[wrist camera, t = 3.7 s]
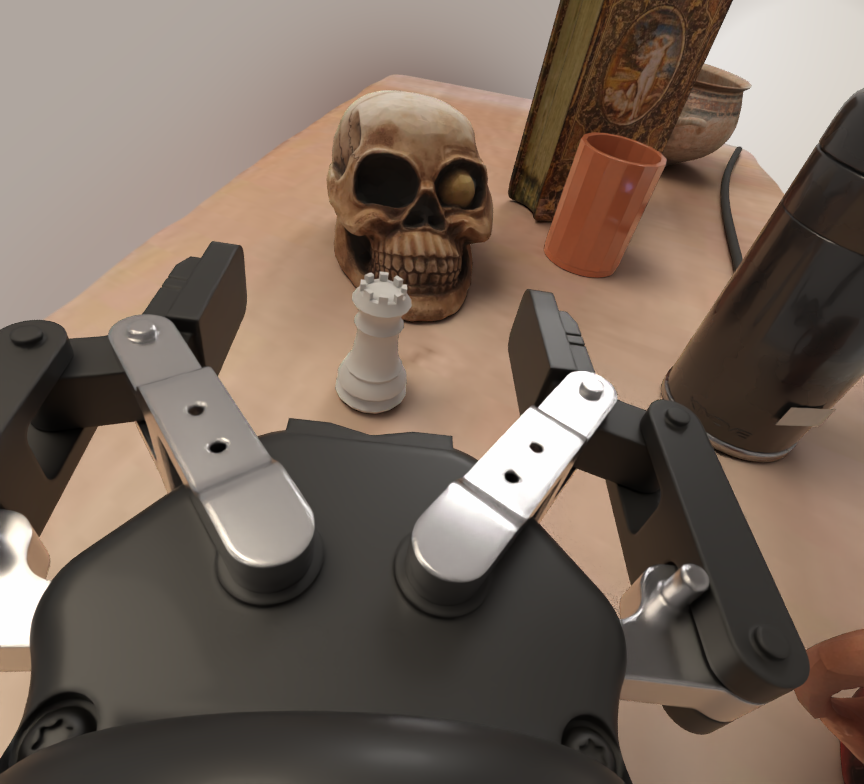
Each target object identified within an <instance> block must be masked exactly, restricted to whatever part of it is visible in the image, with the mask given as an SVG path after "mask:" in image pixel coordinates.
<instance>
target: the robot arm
mask: <svg viewBox="0 0 864 784" xmlns="http://www.w3.org/2000/svg"><path fill="white" fill-rule="evenodd" d="M741 150H742V148H741V147H737V148H736V149H735V151H734V153H733V155H732V156H731V158H730V160H729V162H728V164H727V167H726V169H725V172H724V175H723V178H722V184H721V207H722V214H723V220H724V225H725V230H726V234H727V239H728V244H729V248H730V252H731V257H732V261H733V266H734V271H735V272H734V274H733V276H732V277H731V279H730V280H729V282H728V283H727V285H726V286H725V288H724V289H723V291H722V292H721V294H720V296H719V297H718V299H717V300H716V302H715V303H714V305H713V306H712V308H711V309H710V311H709V312H708V314H707V316H706V317H705V319H704V320H703V322H702V323H701V325H700V326H699V328H698V329H697V331H696V333H695V334H694V336H693V337H692V338H691V340H690V341H689V343H688V345H687V346H686V348H685V349H684V351H683V352H682V354H681V355H680V357H679V358H678V360H677V362H676V363H675V365H674V366H673V367H672V368H671V369H670V370H669V371H668V373H667V374H666V376H665V378H664V379H663V382H662V386H661V391H662V396H663V399H664V400H656V401H654V402H653V403H651V405H650V406H649V408H648V409H647V411H646V410H643V409H641V408H638V407H635V406H632V405H629V404H627V403H624V402H622V401H620V400H618V399H617V398H618V397H617V392H616V390H615V388H614V387H613V386H612V384H611V383H609V382H608V381H607V380H606V379H604V378H603V377H601V376H599V375H597V374H595V371H594V369H593V366H592V363H591V360H590V357H589V355H588V352H587V349H586V347H585V346H584V345H585V344H584V341H583V338H582V337H581V333H580V330H579V327H578V324H577V323H576V321H575V320H574V319H573V318H572V317H571V316H570V315H569V314H568V313H567V312H564V311H559V310H558V307H557V304H556V301H555V298H554V295H553V293H551V292H544V291H538V290H531V289H527V290H526V291H525V293H524V295H523V297H522V300H521V303H520V306H519V309H518V312H517V315H516V318H515V321H514V323H513V326H512V329H511V332H510V337H509V343H508V352H509V358H510V363H511V369H512V374H513V379H514V385H515V390H516V396H517V401H518V406H519V412H520V418H519V419H518V420H517V421H516V422H515V423H514V424H513V425H512V426H511V427H510V428H509V429H508V430H507V432H506V433H505V434H504V435H503V436H502V437H501V438H500V439H499V440H498V441H497V442H496V443H495V444H494V445H493V446H492V447H491V448H490V450H489V451H488V452H487V453H486V454H485V455H484V456H483V457H482V458H481V459H480V460H479V461H478V460H476V459H475V458H473V457H472V456H470V455H468V454H466V453H464V452H462V451H459V450H457V449H454V448H453V441H452V436H446V435H437V434H428V433H419V432H406V433H395V434H384V435H368V434H365V433H362V432H358V431H355V430H352V429H349V428H346V427H343V426H339V425H336V424H333V423H329V422H320V421H311V420H302V419H293V418H289V421H288V425H287V428H286V430H283V431H276V432H271V433H267V434H264V435H260V436H258V437H257V435H256V434H255V432H254V431H253V429H252V428H251V426H250V425H249V423H248V422H247V420H246V419H245V417H244V416H243V414H242V413H241V411H240V410H239V408H238V407H237V405H236V404H235V402H234V400H233V399H232V397H231V396H230V394H229V393H228V391H227V390H226V388H225V387H224V385H223V384H222V382H221V381H220V379H219V378H218V375H219V372H220V370H221V368H222V365H223V363H224V361H225V359H226V356H227V354H228V352H229V349H230V347H231V345H232V343H233V340H234V338H235V336H236V333H237V331H238V329H239V326H240V324H241V322H242V320H243V317H244V314H245V310H246V304H247V290H246V277H245V265H244V253H243V248H242V246H241V245H235V244H228V243H221V242H215V241H212V242H211V243H210V245H209V246H208V248H207V249H206V251H205V253H204V254H203V256H202V257H201V258H198V257H189V258H187V259H185V260H184V261H182V262H180V263H179V264H177V265H176V266H175V267H174V269H173V270H172V272H171V273H170V274H169V276H168V278H167V279H166V280H165V282H164V283H163V285H162V288H160V289H159V291H158V292H157V293H156V295H155V296H154V298H153V299H152V301H151V302H150V304H149V305H148V307H147V308H146V310H145V311H144V313H143V314H142V315H135V316H131V317H127V318H125V319H122V320H120V321H119V322H117V323H116V324H114V325H113V326H112V327H111V329H110V330H109V333H108V335H107V336H100V337H87V338H73V339H69V338H68V336H67V333H66V331H65V329H64V328H63V327H62V326H61V325H59V324H57V323H55V322H51V321H45V320H30V321H23V322H19V323H15V324H11V325H9V326H7V327H5V328H3V329H1V330H0V672H22V671H31V680H30V687H29V694H28V698H27V702H26V707H25V711H24V714H23V717H22V720H21V723H20V725H19V727H18V730H17V732H16V734H15V736H14V738H13V739H12V741H11V743H10V744H9V746H8V747H7V749H6V751H5V752H4V754H3V755H2V757H1V758H0V784H632V781H631V779H630V777H629V774H628V772H627V769H626V766H625V764H624V761H623V758H622V755H621V751H620V746H619V740H618V706H619V700H626V701H634V702H643V703H651V704H660V705H662V706H663V708H664V710H665V711H666V713H667V714H668V715H669V717H670V718H671V719H672V720H673V721H674V722H675V723H677V724H678V725H679V726H680V727H682V728H683V729H685V730H687V731H689V732H691V733H694V734H700V735H703V734H709V733H711V732H713V731H715V730H717V729H719V728H721V727H723V726H725V725H727V724H729V723H731V722H732V721H734V720H736V719H738V718H740V717H742V716H744V715H746V714H748V713H750V712H752V711H754V710H755V709H757V708H759V707H761V706H763V705H765V704H767V703H769V702H771V701H773V700H775V699H777V698H778V697H780V696H782V695H784V694H786V693H788V692H790V691H792V690H794V689H796V688H798V687H800V686H801V685H803V684H804V683H805V682H806V680H807V679H808V676H809V672H810V663H809V659H808V655H807V652H806V650H805V648H804V645H803V643H802V641H801V639H800V637H799V634H798V632H797V630H796V628H795V626H794V624H793V621H792V619H791V617H790V615H789V613H788V610H787V608H786V606H785V604H784V602H783V599H782V597H781V595H780V593H779V591H778V589H777V586H776V584H775V582H774V580H773V578H772V575H771V573H770V571H769V569H768V567H767V565H766V562H765V560H764V558H763V556H762V554H761V551H760V549H759V547H758V545H757V543H756V540H755V538H754V536H753V534H752V532H751V530H750V527H749V525H748V523H747V521H746V519H745V516H744V514H743V512H742V510H741V508H740V506H739V503H738V501H737V499H736V497H735V495H734V492H733V490H732V488H731V486H730V484H729V481H728V479H727V477H726V475H725V473H724V471H723V468H722V466H721V464H720V462H719V460H718V457H717V455H716V453H715V451H714V449H713V448H715V449H717V450H719V451H721V452H723V453H726V454H728V455H731V456H734V457H737V458H740V459H744V460H749V461H755V462H770V461H775V460H779V459H781V458H783V457H785V456H786V455H787V454H788V453H789V452H790V451H791V450H792V449H793V448H794V447H795V446H796V444H797V442H798V441H799V440H800V439H801V438H802V437H803V436H804V435H805V434H806V433H807V432H808V431H809V430H810V429H811V428H812V427H813V426H820V425H821V424H822V423H823V422H824V421H825V420H826V419H827V418H828V417H829V416H830V415H831V414H832V413H833V412H834V411H835V410H836V409H831V408H832V407H833V406H834V405H835V404H836V403H837V402H838V401H839V400H840V399H841V398H842V397H843V396H844V395H845V394H846V393H847V392H848V391H849V390H850V389H851V388H852V387H853V386H854V385H855V384H856V383H857V382H858V381H859V380H860V379H861V378H862V376H863V375H864V88H863V89H861V90H859V91H857V92H856V93H854V94H853V95H852V96H851V97H850V98H849V99H848V100H847V101H846V102H845V103H844V104H843V106H842V107H841V109H840V110H839V111H838V113H837V114H836V116H835V117H834V119H833V120H832V122H831V123H830V125H829V126H828V128H827V129H826V131H825V133H824V134H823V136H822V137H821V139H820V140H819V143H818V144H817V145H816V147H815V148H814V150H813V152H812V153H811V155H810V156H809V158H808V160H807V161H806V162H805V164H804V165H803V167H802V169H801V170H800V172H799V173H798V175H797V176H796V178H795V179H794V181H793V182H792V184H791V186H790V187H789V189H788V190H787V192H786V193H785V195H784V196H783V198H782V200H781V202H780V203H779V205H778V206H777V208H776V209H775V211H774V212H773V214H772V215H771V217H770V218H769V220H768V222H767V223H766V225H765V226H764V228H763V229H762V231H761V232H760V234H759V235H758V237H757V239H756V240H755V242H754V243H753V245H752V246H751V248H750V249H749V251H748V252H747V254H746V255H745V257H744V259H743V258H742V254H741V251H740V247H739V243H738V239H737V235H736V231H735V227H734V223H733V219H732V214H731V209H730V202H729V182H730V176H731V172H732V169H733V166H734V164H735V162H736V160H737V158H738V156H739V154H740V152H741ZM134 421H135V424H136V426H137V428H138V430H139V432H140V434H141V436H142V438H143V441H144V443H145V445H146V447H147V449H148V451H149V453H150V455H151V457H152V459H153V461H154V463H155V465H156V467H157V469H158V471H159V473H160V476H161V478H162V480H163V483H164V486H165V489H166V491H167V495H165V496H164V497H162V498H161V499H159V500H158V501H156V502H155V503H153V504H152V505H150V506H149V507H148V508H146V509H145V510H143V511H142V512H140V513H139V514H137V515H136V516H134V517H133V518H131V519H130V520H128V521H127V522H125V523H124V524H123V525H121V526H120V527H118V528H117V529H115V530H114V531H112V532H111V533H109V534H108V535H106V536H105V537H103V538H102V539H100V540H99V541H98V542H96V543H95V544H93V545H92V546H90V547H89V548H87V549H86V550H84V551H83V552H81V553H80V554H79V555H77V556H76V557H75V558H73V559H72V560H71V561H70V562H69V563H68V564H67V565H65V566H64V567H63V568H62V569H61V570H60V571H59V573H58V574H57V575H56V576H55V577H54V578H53V580H52V581H51V580H47V579H46V577H47V574H48V570H49V567H50V555H49V553H48V551H47V549H46V548H45V546H44V545H43V543H42V541H41V540H40V538H39V537H40V535H41V533H42V531H43V529H44V527H45V525H46V523H47V522H48V520H49V518H50V516H51V514H52V512H53V510H54V508H55V506H56V505H57V503H58V501H59V499H60V497H61V495H62V493H63V491H64V489H65V487H66V486H67V484H68V482H69V480H70V478H71V476H72V474H73V472H74V470H75V469H76V467H77V465H78V463H79V461H80V459H81V457H82V455H83V453H84V452H85V450H86V448H87V446H88V444H89V442H90V440H91V438H92V436H93V434H94V433H95V431H96V429H97V427H98V426H103V425H111V424H118V423H126V422H134ZM577 469H580V470H582V471H585V472H588V473H590V474H593V475H595V476H598V477H601V478H603V479H606V484H607V489H608V493H609V497H610V501H611V505H612V509H613V513H614V517H615V522H616V526H617V530H618V534H619V538H620V542H621V546H622V550H623V555H624V559H625V563H626V567H627V571H628V575H629V579H630V583H631V587H630V588H629V589H628V590H627V591H626V592H625V593H624V594H623V596H622V597H621V600H620V605H619V609H620V619H619V618H618V616H617V614H616V612H615V610H614V608H613V607H612V605H611V604H610V602H609V601H608V599H607V598H606V597H605V595H604V594H603V593H602V592H601V591H600V589H599V588H598V587H597V586H596V585H595V584H594V583H593V582H592V581H591V580H590V579H589V577H588V576H587V575H586V574H585V573H584V572H583V571H582V570H581V569H580V568H579V567H578V565H577V564H576V563H575V562H574V561H573V560H572V559H571V558H570V557H569V556H568V555H567V553H566V552H565V551H564V550H563V549H562V548H561V547H560V546H559V545H558V544H557V543H556V541H555V540H554V539H553V538H552V537H551V536H550V535H549V534H548V533H547V532H546V531H545V529H544V528H543V527H542V526H541V525H540V522H541V521H542V519H543V517H544V516H545V514H546V513H547V511H548V510H549V508H550V507H551V505H552V504H553V503H554V501H555V500H556V498H557V497H558V496H559V494H560V493H561V491H562V490H563V489H564V487H565V486H566V484H567V483H568V481H569V480H570V479H571V477H572V476H573V474H574V473H575V472H576V470H577Z"/></svg>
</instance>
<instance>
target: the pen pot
mask: <svg viewBox="0 0 864 784" xmlns="http://www.w3.org/2000/svg"><path fill="white" fill-rule="evenodd" d="M666 161H667V159H666V158H665V157H664V156H663V155H662V153H660V152H659V151H657V150H655V149H654V148H652V147H650V146H648V145H646V144H643V143H641V142H639V141H636V140H633V139H630V138H626V137H623V136H619V135H614V134H608V133H597V132H592V133H587V134H584V135H583V136H582V138H581V140H580V143H579V146H578V149H577V152H576V155H575V157H574V160H573V163H572V166H571V169H570V172H569V175H568V178H567V180H566V183H565V186H564V189H563V192H562V195H561V198H560V201H559V203H558V206H557V209H556V212H555V215H554V218H553V221H552V224H551V226H550V229H549V232H548V235H547V238H546V241H545V245H544V252H545V254H546V256H547V257H548V258H549V259H550V260H551V261H552V262H553V263H555V264H556V265H557V266H559V267H561V268H563V269H565V270H567V271H569V272H572V273H575V274H578V275H582V276H586V277H596V278H599V277H607V276H610V275H612V274H613V273H614V272H615V271H616V269H617V267H618V265H619V263H620V261H621V259H622V257H623V255H624V253H625V251H626V248H627V246H628V244H629V242H630V240H631V238H632V236H633V233H634V231H635V229H636V227H637V225H638V223H639V221H640V219H641V216H642V214H643V212H644V210H645V208H646V206H647V204H648V201H649V199H650V197H651V195H652V193H653V191H654V189H655V187H656V184H657V182H658V180H659V178H660V176H661V174H662V172H663V169H664V167H665V165H666Z"/></svg>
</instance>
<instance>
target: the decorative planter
mask: <svg viewBox="0 0 864 784" xmlns="http://www.w3.org/2000/svg"><path fill="white" fill-rule="evenodd" d="M806 652H807V655H808V659H809V663H810V672H809V676H808V679H807V680H806V682H805V683H804V684H803V685H801V686H800V687H798V688H796V689H794V691H795V694H796V696H797V699H798V701H799V702H800V703H801V704H802V705H803V706H804V708H805V709H806V710H807V711H808V712H809V713H810V714H811V715H812V716H813V717H814V718H815V719H817V718H820V719H821V721H822V722H823V723H824V725H825V726H826V727H827V728H828V729H829V730H830V731H831V732H832V733H833V734H834V735H835V736H836V737H837V738H838V739H839V740H840V746H841V765H842V774H843V778H844V783H845V784H864V629H860V630H856V631H852V632H848V633H845V634H842V635H839V636H836V637H833V638H831V639H828V640H825V641H823V642H821V643H819V644H816V645H814V646H812V647H811V648H809V649H807V650H806ZM857 687H861V688H860V689H859V690H857V691H856V692H855V694H854V695H853V697H852V698H834V697H831V696H832V695H833V694H835V693H838V692H839V691H841V690H845V689H853V688H857Z"/></svg>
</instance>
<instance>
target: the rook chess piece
mask: <svg viewBox="0 0 864 784" xmlns="http://www.w3.org/2000/svg"><path fill="white" fill-rule="evenodd" d="M388 274H389V273H388V272H380V274H379V279H374V274H373V273H368V274H366V275H365V277H364V280H362V279H361V283H360V286H359V287H358V288H357V289H356V290H355V291H354V292H353V294H352V301H353V302H354V304H355V306H356V307H357V308H358V310H359V312H358V313H357V314H356V315H355V319H354V323H355V324H356V326H357V333H356V337H355V341H354V345H353V348H352V350H351V351H350V352H349V353H348V355H347V356H346V357H345V359H344V360H343V361H342V363H341V364H340V366H339V368H338V375H337V379H336V387H335V389H336V391H337V393H338V395H339V397H340V398H341V399H342V400H343V401H344V402H345V403H346V404H348V405H349V406H350V407H351V408H352V409H355V410H358V411H360V412H363V413H374V414H376V413H381V412H385V411H388V410H390V409H392V408H393V407H395V406H397V405H398V404H400V403H401V402H402V400H403V398H404V396H405V395H406V384H407V378H406V370H405V368H404V367H403V365H402V361H401V359H400V358H399V355H398V338H399V333H400V332H401V331H402V329H403V328H404V321H403V320H402V318H401V317H402V316H403V315H404V314H406V313H407V312H408V311H409V309H410V308H411V306H412V304H411V298H410V297H409V296H408V294H407V285H403V279H402V278H400V277H399V276H395V277H394V282H393V281H390V280H388Z"/></svg>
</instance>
